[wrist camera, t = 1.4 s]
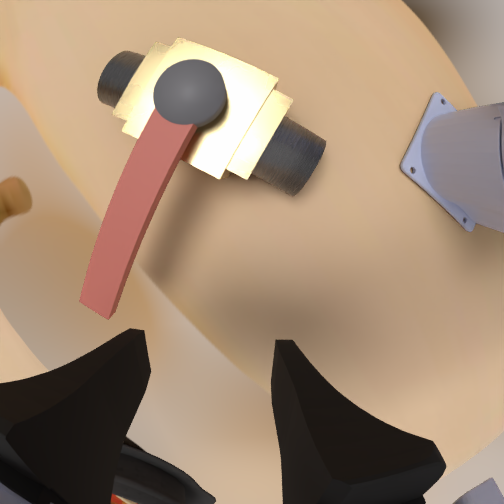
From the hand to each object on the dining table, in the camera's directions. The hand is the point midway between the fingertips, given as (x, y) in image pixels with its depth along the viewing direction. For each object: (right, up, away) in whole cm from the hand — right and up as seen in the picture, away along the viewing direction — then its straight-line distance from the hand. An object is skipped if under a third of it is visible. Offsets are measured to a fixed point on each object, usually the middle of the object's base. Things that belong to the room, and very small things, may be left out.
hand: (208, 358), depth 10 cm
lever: (-4, +7, +3) cm, 8 cm away
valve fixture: (-1, +13, +7) cm, 15 cm away
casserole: (-14, -26, +18) cm, 35 cm away
